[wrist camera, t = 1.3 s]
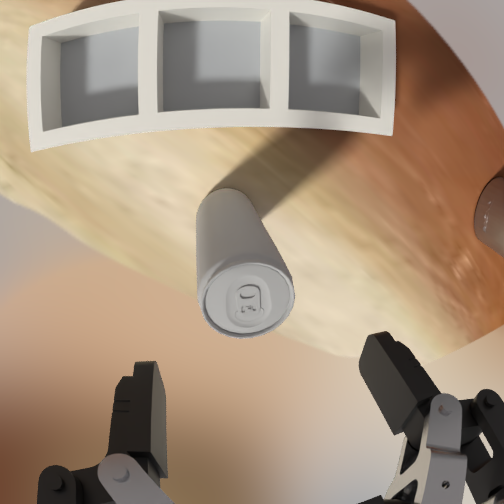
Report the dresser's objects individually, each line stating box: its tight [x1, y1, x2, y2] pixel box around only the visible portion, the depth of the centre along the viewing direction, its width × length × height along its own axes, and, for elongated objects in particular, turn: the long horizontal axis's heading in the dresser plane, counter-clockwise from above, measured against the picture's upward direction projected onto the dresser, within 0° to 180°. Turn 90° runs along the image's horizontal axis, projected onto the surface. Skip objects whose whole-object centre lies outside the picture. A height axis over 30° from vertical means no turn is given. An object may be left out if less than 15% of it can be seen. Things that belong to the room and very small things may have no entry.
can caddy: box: [27, 0, 396, 152], centre depth 17 cm, size 26×9×4 cm, turn 90°
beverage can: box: [196, 188, 295, 339], centre depth 20 cm, size 5×5×12 cm
